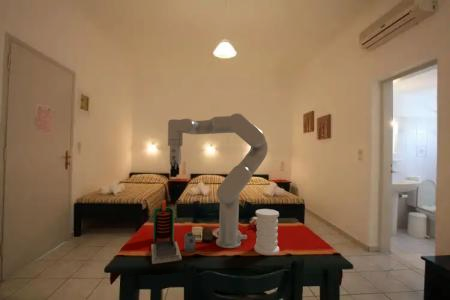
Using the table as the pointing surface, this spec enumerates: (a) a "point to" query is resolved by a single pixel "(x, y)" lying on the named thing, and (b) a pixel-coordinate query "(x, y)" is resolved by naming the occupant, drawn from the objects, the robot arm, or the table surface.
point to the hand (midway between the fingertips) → (174, 175)
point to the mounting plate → (165, 252)
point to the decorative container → (267, 232)
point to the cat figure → (253, 221)
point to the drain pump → (189, 242)
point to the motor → (163, 223)
